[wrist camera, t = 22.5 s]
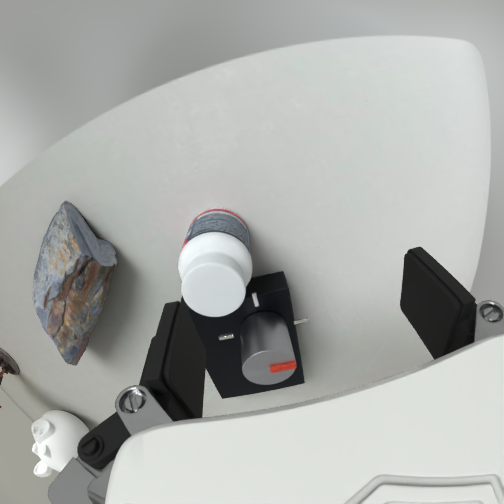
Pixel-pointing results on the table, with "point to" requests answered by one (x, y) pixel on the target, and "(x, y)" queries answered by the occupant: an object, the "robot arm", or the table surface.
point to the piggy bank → (56, 440)
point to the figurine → (7, 365)
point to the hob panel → (228, 336)
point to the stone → (71, 281)
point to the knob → (266, 349)
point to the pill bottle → (215, 262)
